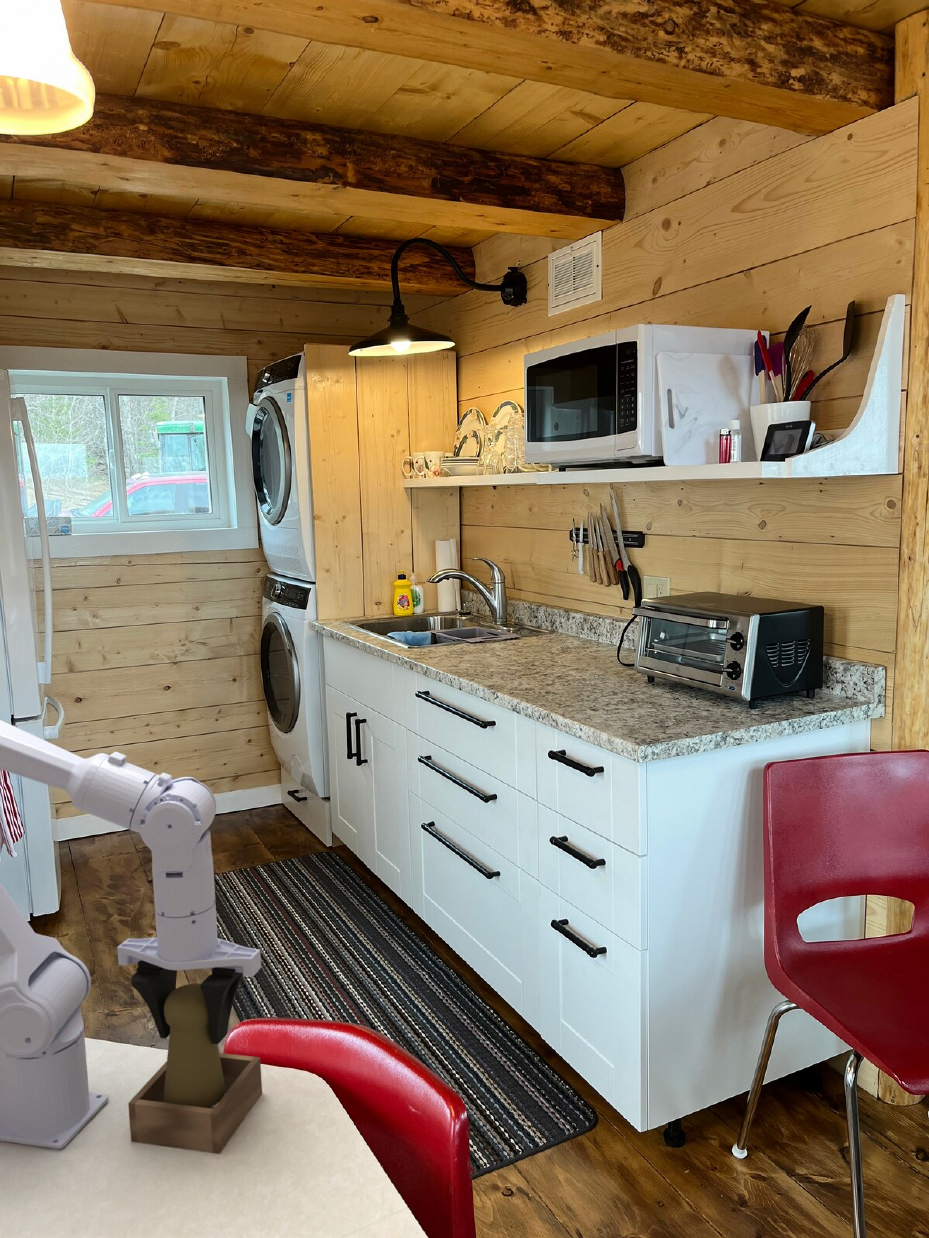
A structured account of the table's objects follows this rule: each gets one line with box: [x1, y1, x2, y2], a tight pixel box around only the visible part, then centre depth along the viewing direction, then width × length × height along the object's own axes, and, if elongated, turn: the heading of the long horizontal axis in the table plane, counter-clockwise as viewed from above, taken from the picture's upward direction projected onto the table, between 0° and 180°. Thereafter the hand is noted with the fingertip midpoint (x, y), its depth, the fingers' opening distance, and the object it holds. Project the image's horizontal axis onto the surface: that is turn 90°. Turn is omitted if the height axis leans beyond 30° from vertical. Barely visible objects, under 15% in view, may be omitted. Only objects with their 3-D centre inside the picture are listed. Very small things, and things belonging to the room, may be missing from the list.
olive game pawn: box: [163, 982, 226, 1109], centre depth 93 cm, size 6×6×11 cm
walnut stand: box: [127, 1052, 263, 1154], centre depth 94 cm, size 9×9×4 cm
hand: (193, 1035), depth 94 cm, fingers closed on olive game pawn, 5 cm apart
